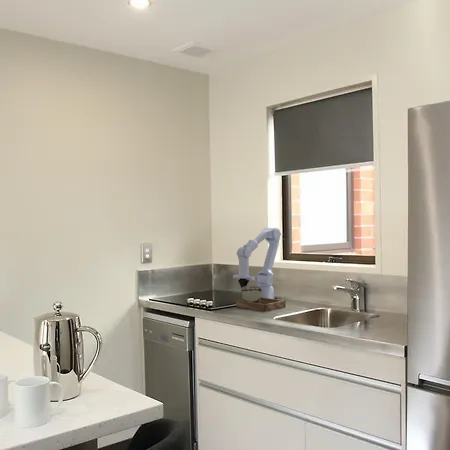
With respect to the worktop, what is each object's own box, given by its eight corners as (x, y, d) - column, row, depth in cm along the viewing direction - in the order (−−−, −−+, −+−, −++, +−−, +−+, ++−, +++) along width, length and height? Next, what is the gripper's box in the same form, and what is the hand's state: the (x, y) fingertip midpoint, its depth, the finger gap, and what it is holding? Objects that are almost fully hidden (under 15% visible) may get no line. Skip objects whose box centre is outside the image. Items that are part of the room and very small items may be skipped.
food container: (259, 302, 302) (259, 285, 301) (261, 305, 296) (262, 288, 295) (238, 302, 300) (238, 285, 299) (240, 305, 294) (241, 288, 293)
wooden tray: (256, 302, 305) (256, 296, 305) (285, 306, 291) (285, 300, 291) (235, 306, 291) (235, 300, 291) (265, 311, 278) (265, 304, 278)
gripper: (229, 267, 301) (229, 291, 301) (249, 269, 291) (248, 294, 291) (237, 267, 306) (237, 290, 306) (257, 268, 296) (256, 292, 297)
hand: (243, 291), depth 299 cm, fingers closed
